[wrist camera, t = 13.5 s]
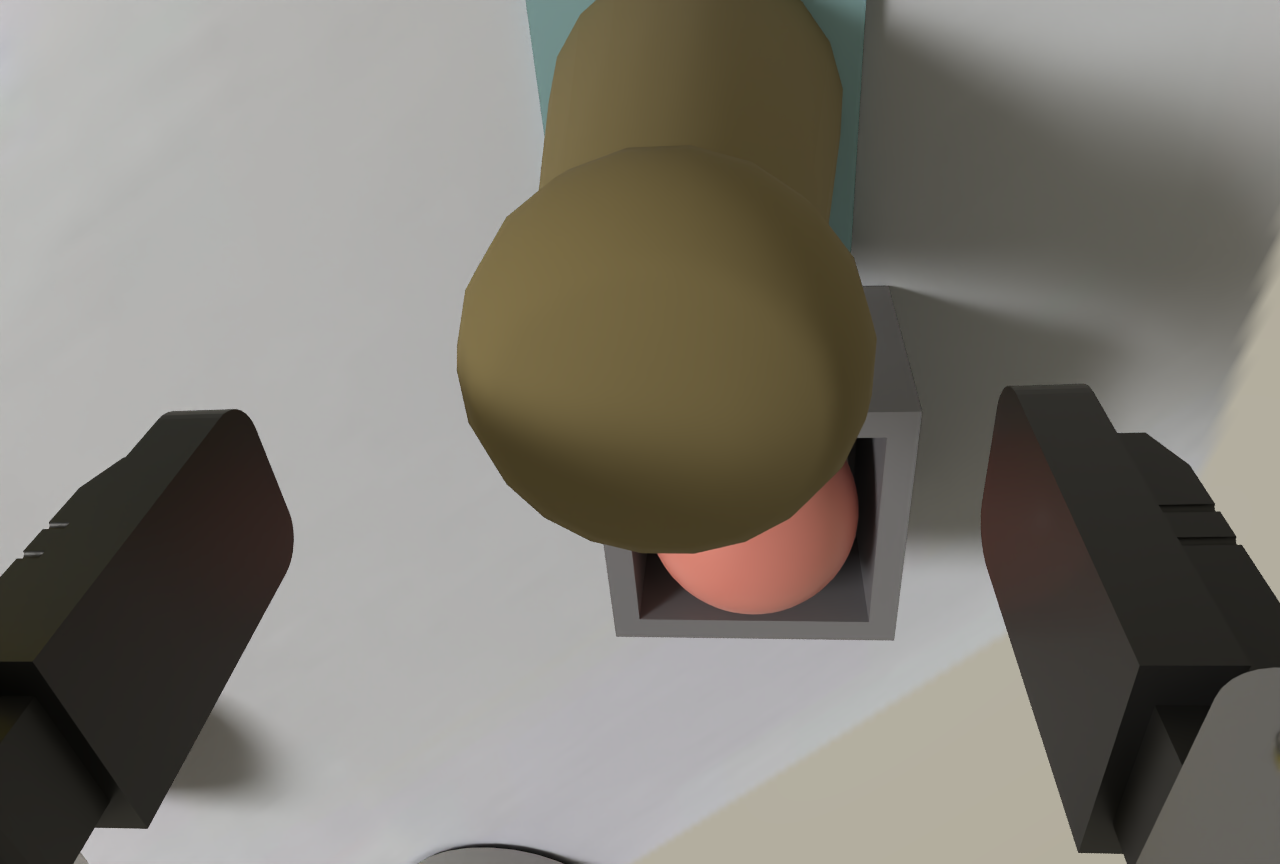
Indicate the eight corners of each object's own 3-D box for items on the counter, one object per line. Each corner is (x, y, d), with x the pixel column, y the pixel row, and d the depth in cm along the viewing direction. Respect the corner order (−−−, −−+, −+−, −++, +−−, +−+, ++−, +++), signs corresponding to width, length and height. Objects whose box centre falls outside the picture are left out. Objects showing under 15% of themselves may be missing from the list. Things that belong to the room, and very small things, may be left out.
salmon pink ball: (841, 498, 24) (862, 661, 20) (662, 498, 25) (646, 657, 20) (850, 344, 21) (878, 495, 17) (650, 348, 22) (628, 496, 18)
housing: (869, 497, 25) (894, 640, 21) (635, 498, 26) (616, 636, 22) (888, 286, 22) (922, 411, 18) (613, 293, 22) (585, 416, 18)
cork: (552, -60, 18) (362, 148, 9) (875, -25, 17) (1013, 222, 9) (544, 237, 21) (405, 595, 12) (811, 268, 21) (862, 651, 12)
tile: (848, 245, 21) (850, 253, 21) (564, 255, 22) (562, 262, 21) (868, -81, 17) (871, -77, 17) (522, -55, 18) (518, -51, 18)
